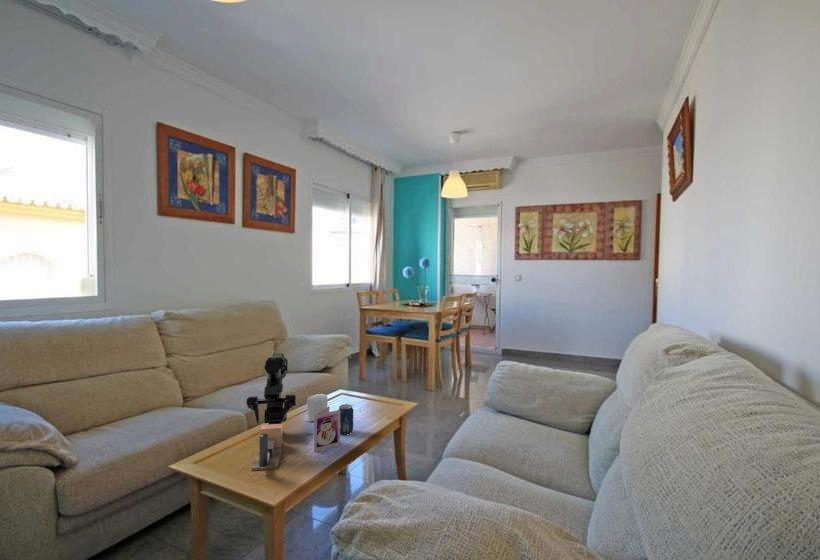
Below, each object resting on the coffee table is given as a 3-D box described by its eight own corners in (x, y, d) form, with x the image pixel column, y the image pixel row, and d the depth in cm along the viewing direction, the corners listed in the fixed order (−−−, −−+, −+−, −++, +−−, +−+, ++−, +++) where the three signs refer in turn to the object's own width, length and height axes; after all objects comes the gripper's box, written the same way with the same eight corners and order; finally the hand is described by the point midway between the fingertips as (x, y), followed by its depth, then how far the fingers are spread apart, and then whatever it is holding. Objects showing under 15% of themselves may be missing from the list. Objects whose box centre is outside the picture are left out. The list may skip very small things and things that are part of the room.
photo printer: (325, 415, 192) (325, 391, 191) (328, 418, 188) (328, 393, 188) (305, 420, 186) (305, 395, 186) (308, 423, 182) (308, 397, 182)
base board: (260, 445, 157) (260, 443, 157) (283, 444, 159) (283, 441, 159) (251, 470, 138) (251, 467, 138) (277, 468, 140) (277, 465, 140)
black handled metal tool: (265, 449, 150) (266, 419, 150) (273, 449, 151) (273, 418, 151) (258, 470, 134) (258, 437, 134) (266, 470, 135) (267, 436, 135)
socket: (261, 443, 157) (262, 424, 157) (282, 442, 159) (282, 423, 159) (260, 448, 153) (260, 429, 153) (280, 447, 154) (281, 427, 154)
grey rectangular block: (264, 449, 152) (264, 439, 152) (275, 448, 153) (275, 438, 153) (261, 459, 144) (261, 448, 144) (272, 458, 145) (273, 447, 145)
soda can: (346, 428, 177) (347, 402, 177) (356, 432, 172) (356, 406, 172) (334, 432, 172) (335, 406, 172) (343, 437, 167) (344, 410, 167)
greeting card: (314, 452, 152) (315, 415, 152) (307, 445, 158) (308, 410, 158) (340, 445, 159) (341, 410, 159) (333, 439, 165) (333, 405, 165)
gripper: (247, 377, 150) (241, 416, 141) (296, 375, 154) (293, 413, 145) (250, 388, 159) (245, 426, 149) (296, 386, 163) (295, 423, 153)
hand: (270, 422), depth 149 cm, fingers open, 9 cm apart
